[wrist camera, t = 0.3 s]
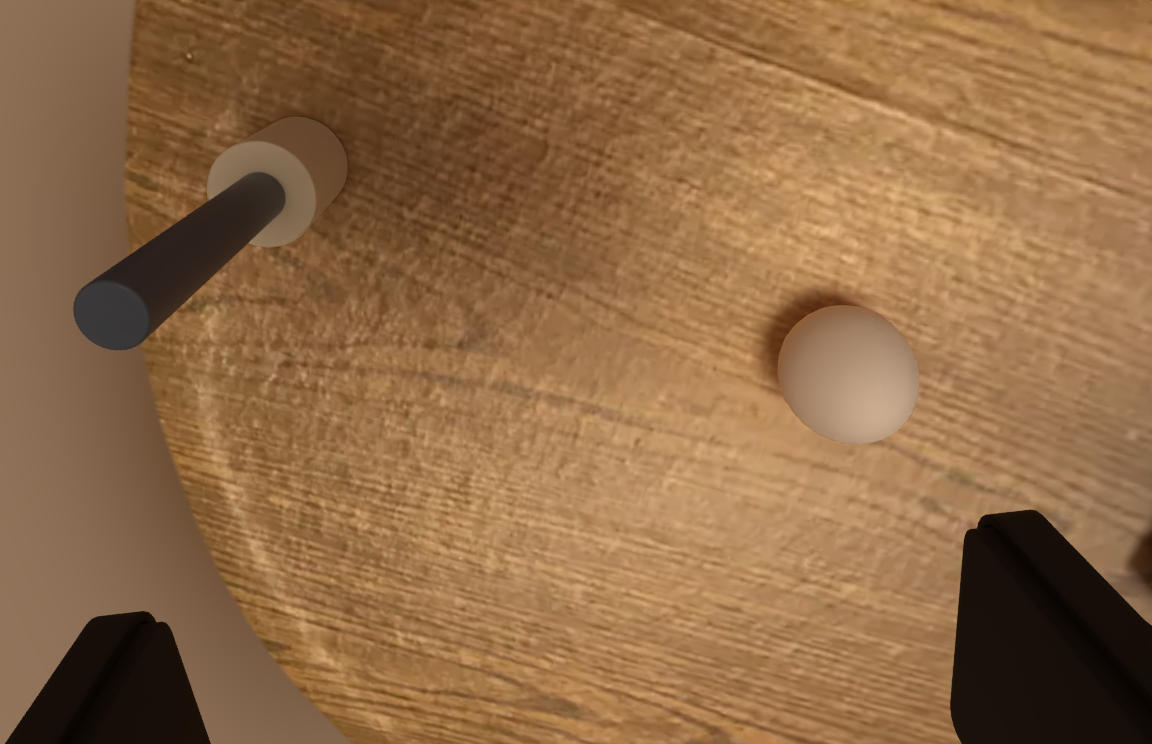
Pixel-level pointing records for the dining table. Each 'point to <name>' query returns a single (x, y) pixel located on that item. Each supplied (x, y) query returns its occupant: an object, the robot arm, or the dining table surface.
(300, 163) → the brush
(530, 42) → the dining table surface
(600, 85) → the dining table surface
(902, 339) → the egg
